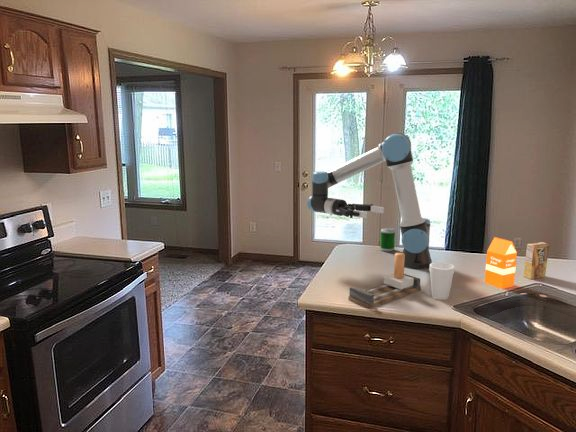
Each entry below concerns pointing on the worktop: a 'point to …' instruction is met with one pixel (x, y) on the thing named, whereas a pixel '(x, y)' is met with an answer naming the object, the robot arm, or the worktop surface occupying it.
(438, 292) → the foam cup
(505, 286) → the orange juice
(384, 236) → the soda can
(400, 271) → the carriage
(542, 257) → the candy box
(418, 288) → the rail
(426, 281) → the worktop surface
